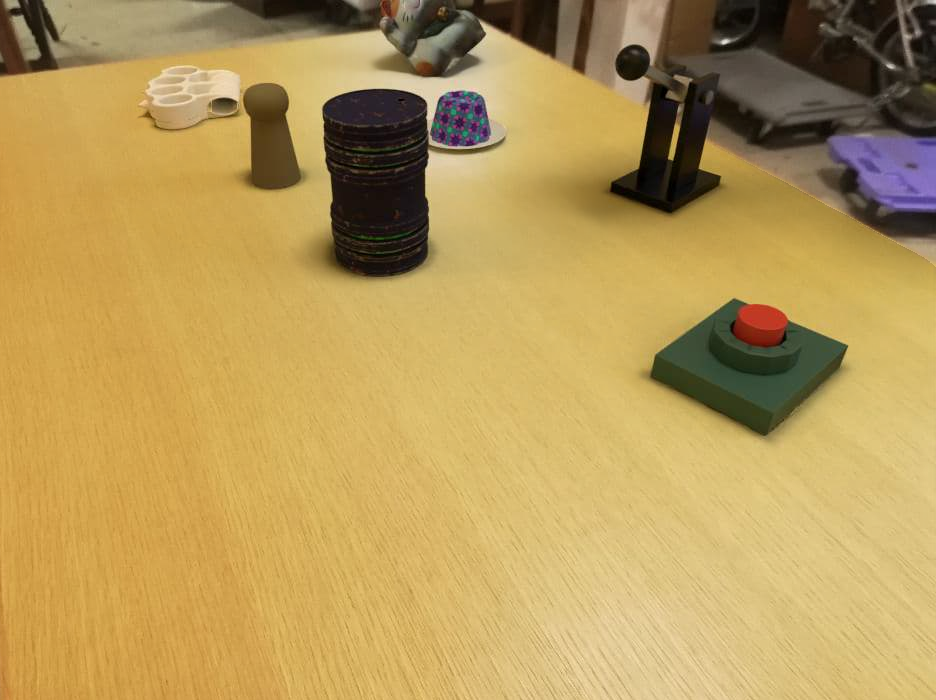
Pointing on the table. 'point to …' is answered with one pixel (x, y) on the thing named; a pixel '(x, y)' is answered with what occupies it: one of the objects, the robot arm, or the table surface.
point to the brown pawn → (270, 137)
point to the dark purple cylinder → (378, 179)
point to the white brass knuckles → (191, 95)
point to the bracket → (681, 176)
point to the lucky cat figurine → (430, 32)
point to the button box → (747, 368)
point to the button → (760, 325)
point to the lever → (650, 72)
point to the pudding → (463, 122)
